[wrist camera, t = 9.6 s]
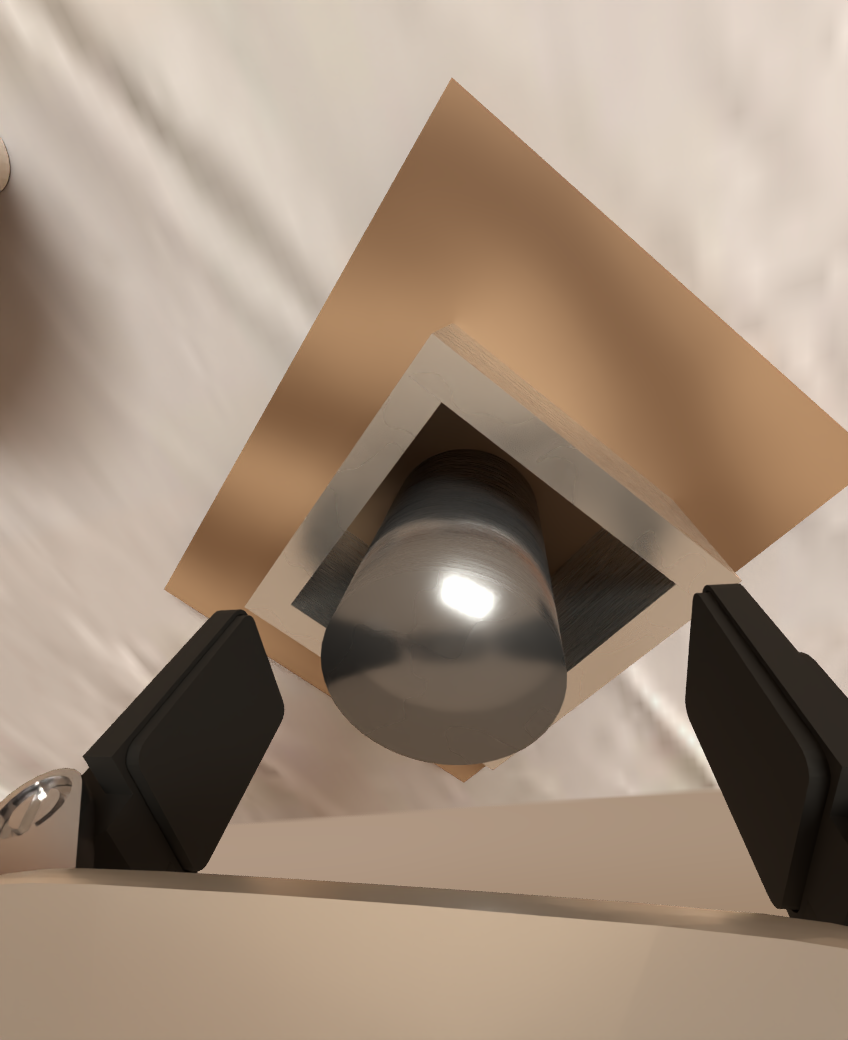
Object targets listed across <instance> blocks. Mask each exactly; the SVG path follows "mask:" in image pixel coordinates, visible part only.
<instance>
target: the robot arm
mask: <svg viewBox="0 0 848 1040" xmlns="http://www.w3.org/2000/svg"><path fill="white" fill-rule="evenodd" d="M685 703H686V710H687V714H688V717H689V720H690V722H691V725H692V727H693V729H694V731H695V733H696V736H697V738H698V740H699V742H700V745H701V747H702V749H703V751H704V754H705V756H706V758H707V760H708V762H709V765H710V767H711V769H712V771H713V774H714V776H715V778H716V780H717V783H718V785H719V787H720V789H721V791H722V794H723V796H724V798H725V800H726V802H727V805H728V807H729V809H730V812H731V814H732V816H733V818H734V820H735V823H736V825H737V827H738V829H739V832H740V834H741V836H742V838H743V840H744V843H745V845H746V847H747V849H748V852H749V854H750V856H751V858H752V860H753V863H754V865H755V867H756V870H757V872H758V874H759V876H760V878H761V881H762V883H763V885H764V887H765V889H766V892H767V894H768V896H769V898H770V900H771V902H772V903H773V905H774V906H775V907H776V908H777V909H786V910H787V912H788V914H789V916H790V917H783V916H775V915H768V914H759V913H747V912H737V911H726V910H715V909H703V908H692V907H681V906H670V905H658V904H647V903H635V902H621V901H608V900H607V901H606V900H594V899H580V898H566V897H552V896H538V895H524V894H510V893H496V892H482V891H467V890H452V889H438V888H423V887H407V886H392V885H378V884H362V883H346V882H330V881H316V880H301V879H300V880H299V879H284V878H268V877H251V876H250V877H249V876H233V875H217V874H199V873H197V872H198V871H200V870H202V869H203V868H204V867H205V866H206V865H207V863H208V862H209V860H210V858H211V856H212V854H213V852H214V850H215V848H216V846H217V844H218V843H219V841H220V839H221V837H222V835H223V833H224V831H225V829H226V827H227V825H228V823H229V821H230V819H231V818H232V816H233V814H234V812H235V810H236V808H237V806H238V804H239V802H240V800H241V798H242V796H243V794H244V793H245V791H246V789H247V787H248V785H249V783H250V781H251V779H252V777H253V775H254V773H255V771H256V770H257V768H258V766H259V764H260V762H261V760H262V758H263V756H264V754H265V752H266V750H267V748H268V746H269V745H270V743H271V741H272V739H273V737H274V735H275V733H276V731H277V729H278V727H279V725H280V723H281V722H282V719H283V716H284V703H283V700H282V697H281V694H280V691H279V689H278V686H277V683H276V680H275V677H274V674H273V672H272V669H271V666H270V663H269V660H268V657H267V654H266V652H265V649H264V646H263V643H262V640H261V637H260V635H259V632H258V629H257V626H256V623H255V621H254V619H253V617H252V616H250V615H248V614H247V613H246V612H245V611H244V610H241V609H237V610H220V611H216V612H215V613H214V614H213V615H212V616H211V617H210V618H209V619H208V620H207V621H206V622H205V624H204V625H203V626H202V627H201V628H200V629H199V630H198V631H197V632H196V633H195V634H194V636H193V637H192V638H191V639H190V640H189V641H188V642H187V643H186V644H185V645H184V646H183V648H182V649H181V650H180V651H179V652H178V653H177V654H176V655H175V656H174V657H173V659H172V660H171V661H170V662H169V663H168V664H167V665H166V666H165V667H164V668H163V669H162V671H161V672H160V673H159V674H158V675H157V676H156V677H155V678H154V679H153V680H152V681H151V683H150V684H149V685H148V686H147V687H146V688H145V689H144V690H143V691H142V692H141V693H140V695H139V696H138V697H137V698H136V699H135V700H134V701H133V702H132V703H131V704H130V705H129V707H128V708H127V709H126V710H125V711H124V712H123V713H122V714H121V715H120V716H119V717H118V719H117V720H116V721H115V722H114V723H113V724H112V725H111V726H110V727H109V728H108V729H107V731H106V732H105V733H104V734H103V735H102V736H101V737H100V738H99V739H98V740H97V741H96V743H95V744H94V745H93V746H92V747H91V748H90V749H89V750H88V751H87V752H86V753H85V755H84V756H83V757H84V759H85V761H86V762H87V764H88V766H89V768H88V769H87V771H86V772H85V773H84V774H83V775H81V774H80V773H79V772H78V771H77V770H75V769H70V768H62V769H57V770H52V771H50V772H47V773H44V774H42V775H39V776H37V777H35V778H34V779H32V780H30V781H28V782H26V783H25V784H23V785H22V786H20V787H19V788H17V789H16V790H15V791H13V792H12V793H10V794H9V795H8V796H7V797H6V798H5V799H4V800H3V801H2V802H0V1040H848V698H847V697H846V696H845V694H844V693H843V692H842V691H841V690H840V689H839V688H838V686H837V685H836V684H835V683H834V682H833V681H832V679H831V678H830V677H829V676H828V675H827V674H826V673H825V671H824V670H823V669H822V668H821V667H820V666H819V665H818V663H817V662H816V661H815V660H814V659H813V658H811V657H810V656H809V655H808V654H805V653H802V652H798V651H797V650H796V648H795V647H794V646H793V645H792V644H791V643H790V641H789V640H788V639H787V638H786V637H785V635H784V634H783V633H782V632H781V631H780V629H779V628H778V627H777V626H776V625H775V624H774V622H773V621H772V620H771V619H770V618H769V616H768V615H767V614H766V613H765V612H764V611H763V609H762V608H761V607H760V606H759V605H758V603H757V602H756V601H755V600H754V599H753V598H752V596H751V595H750V594H749V593H748V592H747V590H746V589H745V588H744V587H743V586H742V585H741V584H738V583H735V584H716V585H706V586H704V588H703V591H702V593H695V594H694V596H693V600H692V614H691V627H690V641H689V655H688V668H687V682H686V696H685Z"/></svg>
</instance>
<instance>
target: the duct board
mask: <svg viewBox="0 0 848 1040" xmlns="http://www.w3.org/2000/svg"><path fill="white" fill-rule="evenodd" d="M455 449H475V450H481V451H485V452H488V453H491V454H494V455H497V456H499V457H501V458H503V459H505V460H506V461H507V462H509V463H510V464H512V465H513V466H514V467H515V468H517V469H518V470H519V471H520V472H521V473H522V475H523V476H524V477H525V478H526V480H527V481H528V483H529V484H530V486H531V488H532V490H533V492H534V495H535V498H536V501H537V506H538V511H539V517H540V523H541V528H542V534H543V539H544V545H545V551H546V556H547V562H548V567H549V573H550V579H551V584H552V590H553V595H554V601H555V607H556V612H557V618H558V623H559V629H560V634H561V640H562V646H563V651H564V657H565V663H566V670H567V689H566V693H565V698H564V702H563V704H562V707H561V709H560V712H559V714H558V715H557V717H556V718H555V720H554V722H553V723H552V724H551V726H552V725H553V724H554V723H556V722H557V721H558V720H559V719H561V718H562V717H563V716H565V715H566V714H567V713H569V712H570V711H571V710H573V709H574V708H575V707H577V706H578V705H579V704H580V703H582V702H583V701H584V700H586V699H587V698H588V697H590V696H591V695H592V694H594V693H595V692H596V691H598V690H599V689H600V688H602V687H603V686H604V685H605V684H607V683H608V682H609V681H611V680H612V679H613V678H615V677H616V676H617V675H619V674H620V673H621V672H623V671H624V670H625V669H626V668H628V667H629V666H630V665H632V664H633V663H634V662H636V661H637V660H638V659H640V658H641V657H642V656H644V655H645V654H646V653H647V652H649V651H650V650H651V649H653V648H654V647H655V646H657V645H658V644H659V643H661V642H662V641H663V640H665V639H666V638H667V637H669V636H670V635H671V634H672V633H674V632H675V631H676V630H678V629H679V628H680V627H682V626H683V625H684V624H686V623H687V622H688V621H690V620H691V614H692V600H693V596H694V594H695V593H702V591H703V588H704V586H706V585H716V584H735V583H739V582H741V581H742V580H741V579H740V578H739V577H738V575H737V574H736V573H735V572H736V571H738V570H739V569H740V568H742V567H743V566H744V565H745V564H747V563H748V562H749V561H751V560H752V559H753V558H754V557H756V556H757V555H758V554H760V553H761V552H762V551H764V550H765V549H766V548H767V547H769V546H770V545H771V544H773V543H774V542H775V541H776V540H778V539H779V538H780V537H782V536H783V535H784V534H785V533H787V532H788V531H789V530H791V529H792V528H793V527H795V526H796V525H797V524H798V523H800V522H801V521H802V520H804V519H805V518H806V517H807V516H809V515H810V514H811V513H813V512H814V511H815V510H816V509H818V508H819V507H820V506H822V505H823V504H824V503H826V502H827V501H828V500H829V499H831V498H832V497H833V496H835V495H836V494H837V493H838V492H840V491H841V490H842V489H844V488H845V487H846V486H847V485H848V432H847V431H846V430H845V429H844V428H842V427H841V426H840V425H839V424H838V423H837V422H836V421H835V420H834V419H832V418H831V417H830V416H829V415H828V414H827V413H826V412H825V411H824V410H822V409H821V408H820V407H819V406H818V405H817V404H816V403H815V402H813V401H812V400H811V399H810V398H809V397H808V396H807V395H806V394H805V393H803V392H802V391H801V390H800V389H799V388H798V387H797V386H796V385H795V384H793V383H792V382H791V381H790V380H789V379H788V378H787V377H786V376H784V375H783V374H782V373H781V372H780V371H779V370H778V369H777V368H776V367H774V366H773V365H772V364H771V363H770V362H769V361H768V360H767V359H765V358H764V357H763V356H762V355H761V354H760V353H759V352H758V351H757V350H755V349H754V348H753V347H752V346H751V345H750V344H749V343H748V342H747V341H745V340H744V339H743V338H742V337H741V336H740V335H739V334H738V333H736V332H735V331H734V330H733V329H732V328H731V327H730V326H729V325H728V324H726V323H725V322H724V321H723V320H722V319H721V318H720V317H719V316H717V315H716V314H715V313H714V312H713V311H712V310H711V309H710V308H709V307H707V306H706V305H705V304H704V303H703V302H702V301H701V300H700V299H699V298H697V297H696V296H695V295H694V294H693V293H692V292H691V291H690V290H688V289H687V288H686V287H685V286H684V285H683V284H682V283H681V282H680V281H678V280H677V279H676V278H675V277H674V276H673V275H672V274H671V273H670V272H668V271H667V270H666V269H665V268H664V267H663V266H662V265H661V264H659V263H658V262H657V261H656V260H655V259H654V258H653V257H652V256H651V255H649V254H648V253H647V252H646V251H645V250H644V249H643V248H642V247H640V246H639V245H638V244H637V243H636V242H635V241H634V240H633V239H632V238H630V237H629V236H628V235H627V234H626V233H625V232H624V231H623V230H622V229H620V228H619V227H618V226H617V225H616V224H615V223H614V222H613V221H611V220H610V219H609V218H608V217H607V216H606V215H605V214H604V213H603V212H601V211H600V210H599V209H598V208H597V207H596V206H595V205H594V204H592V203H591V202H590V201H589V200H588V199H587V198H586V197H585V196H584V195H582V194H581V193H580V192H579V191H578V190H577V189H576V188H575V187H574V186H572V185H571V184H570V183H569V182H568V181H567V180H566V179H565V178H563V177H562V176H561V175H560V174H559V173H558V172H557V171H556V170H555V169H553V168H552V167H551V166H550V165H549V164H548V163H547V162H546V161H544V160H543V159H542V158H541V157H540V156H539V155H538V154H537V153H536V152H534V151H533V150H532V149H531V148H530V147H529V146H528V145H527V144H526V143H524V142H523V141H522V140H521V139H520V138H519V137H518V136H517V135H515V134H514V133H513V132H512V131H511V130H510V129H509V128H508V127H507V126H505V125H504V124H503V123H502V122H501V121H500V120H499V119H498V118H497V117H495V116H494V115H493V114H492V113H491V112H490V111H489V110H488V109H486V108H485V107H484V106H483V105H482V104H481V103H480V102H479V101H478V100H476V99H475V98H474V97H473V96H472V95H471V94H470V93H469V92H467V91H466V90H465V89H464V88H463V87H462V86H461V85H460V84H459V83H457V82H456V81H455V80H454V79H453V78H451V80H450V82H449V84H448V85H447V87H446V89H445V91H444V92H443V94H442V96H441V98H440V100H439V101H438V103H437V105H436V107H435V108H434V110H433V112H432V114H431V116H430V117H429V119H428V121H427V123H426V124H425V126H424V128H423V130H422V132H421V133H420V135H419V137H418V139H417V140H416V142H415V144H414V146H413V148H412V149H411V151H410V153H409V155H408V157H407V158H406V160H405V162H404V164H403V165H402V167H401V169H400V171H399V173H398V174H397V176H396V178H395V180H394V181H393V183H392V185H391V187H390V189H389V190H388V192H387V194H386V196H385V197H384V199H383V201H382V203H381V205H380V206H379V208H378V210H377V212H376V213H375V215H374V217H373V219H372V221H371V222H370V224H369V226H368V228H367V229H366V231H365V233H364V235H363V237H362V238H361V240H360V242H359V244H358V245H357V247H356V249H355V251H354V253H353V254H352V256H351V258H350V260H349V261H348V263H347V265H346V267H345V269H344V270H343V272H342V274H341V276H340V277H339V279H338V281H337V283H336V285H335V286H334V288H333V290H332V292H331V294H330V295H329V297H328V299H327V301H326V302H325V304H324V306H323V308H322V310H321V311H320V313H319V315H318V317H317V318H316V320H315V322H314V324H313V326H312V327H311V329H310V331H309V333H308V334H307V336H306V338H305V340H304V342H303V343H302V345H301V347H300V349H299V350H298V352H297V354H296V356H295V358H294V359H293V361H292V363H291V365H290V366H289V368H288V370H287V372H286V374H285V375H284V377H283V379H282V381H281V382H280V384H279V386H278V388H277V390H276V391H275V393H274V395H273V397H272V398H271V400H270V402H269V404H268V406H267V407H266V409H265V411H264V413H263V414H262V416H261V418H260V420H259V422H258V423H257V425H256V427H255V429H254V431H253V432H252V434H251V436H250V438H249V439H248V441H247V443H246V445H245V447H244V448H243V450H242V452H241V454H240V455H239V457H238V459H237V461H236V463H235V464H234V466H233V468H232V470H231V471H230V473H229V475H228V477H227V479H226V480H225V482H224V484H223V486H222V487H221V489H220V491H219V493H218V495H217V496H216V498H215V500H214V502H213V503H212V505H211V507H210V509H209V511H208V512H207V514H206V516H205V518H204V519H203V521H202V523H201V525H200V527H199V528H198V530H197V532H196V534H195V535H194V537H193V539H192V541H191V543H190V544H189V546H188V548H187V550H186V551H185V553H184V555H183V557H182V559H181V560H180V562H179V564H178V566H177V568H176V569H175V571H174V573H173V575H172V576H171V578H170V580H169V582H168V584H167V585H166V587H165V589H164V590H166V591H167V592H169V593H170V594H172V595H174V596H175V597H177V598H178V599H180V600H181V601H183V602H184V603H186V604H188V605H189V606H191V607H192V608H194V609H195V610H197V611H198V612H200V613H202V614H203V615H205V616H206V617H208V618H210V617H211V616H212V615H213V614H214V613H215V612H216V611H220V610H237V609H241V610H244V611H245V612H246V613H247V614H248V615H250V616H252V617H253V619H254V621H255V623H256V626H257V629H258V632H259V635H260V637H261V640H262V643H263V646H264V649H265V652H266V654H267V656H268V657H270V658H271V659H273V660H274V661H276V662H278V663H279V664H281V665H282V666H284V667H285V668H287V669H288V670H290V671H292V672H293V673H295V674H296V675H298V676H299V677H301V678H302V679H304V680H305V681H307V682H309V683H310V684H312V685H313V686H315V687H316V688H318V689H319V690H321V691H323V692H324V693H326V694H327V695H329V696H330V697H331V695H330V693H329V692H328V689H327V686H326V684H325V681H324V677H323V673H322V668H321V646H322V641H323V637H324V633H325V630H326V628H327V626H328V624H329V622H330V620H331V618H332V616H333V614H334V612H335V610H336V608H337V606H338V605H339V603H340V601H341V599H342V597H343V595H344V593H345V591H346V590H347V588H348V586H349V584H350V582H351V580H352V578H353V576H354V575H355V573H356V571H357V569H358V567H359V565H360V563H361V562H362V560H363V558H364V556H365V554H366V552H367V550H368V548H369V547H370V545H371V543H372V541H373V539H374V537H375V535H376V533H377V532H378V530H379V528H380V526H381V524H382V522H383V520H384V518H385V517H386V515H387V513H388V511H389V509H390V507H391V505H392V503H393V502H394V500H395V498H396V496H397V494H398V492H399V490H400V489H401V487H402V485H403V483H404V481H405V480H406V478H407V477H408V475H409V474H410V473H411V472H412V471H413V470H414V469H415V468H416V467H417V466H418V465H419V464H421V463H422V462H423V461H425V460H427V459H428V458H430V457H432V456H434V455H436V454H439V453H442V452H445V451H450V450H455ZM514 754H515V753H514ZM512 755H513V754H512ZM512 755H510V756H507V757H504V758H501V759H498V760H494V761H490V762H486V763H480V764H472V765H443V764H436V765H437V766H439V767H440V768H442V769H444V770H445V771H447V772H448V773H450V774H451V775H453V776H454V777H456V778H458V779H459V780H461V781H462V782H465V781H467V780H468V779H469V778H470V777H472V776H473V775H474V774H476V773H477V772H478V771H479V770H481V769H482V768H483V767H485V766H487V767H489V768H490V769H492V770H494V769H495V768H496V767H498V766H499V765H500V764H502V763H503V762H504V761H506V760H507V759H508V758H510V757H511V756H512ZM434 764H435V763H434Z"/></svg>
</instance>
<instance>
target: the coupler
mask: <svg viewBox="0 0 848 1040" xmlns="http://www.w3.org/2000/svg"><path fill="white" fill-rule="evenodd" d="M321 668H322V673H323V677H324V681H325V684H326V686H327V689H328V692H329V693H330V695H331V697H332V699H333V701H334V703H335V704H336V706H337V707H338V708H339V710H340V711H341V712H342V714H343V715H344V716H345V717H346V718H347V719H348V720H349V721H350V723H351V724H352V725H354V726H355V727H356V728H357V729H358V730H359V731H360V732H362V733H363V734H364V735H366V736H367V737H369V738H370V739H371V740H373V741H374V742H376V743H378V744H380V745H381V746H383V747H385V748H387V749H389V750H391V751H393V752H396V753H398V754H401V755H403V756H406V757H409V758H412V759H416V760H420V761H424V762H429V763H435V764H443V765H472V764H480V763H486V762H490V761H494V760H498V759H501V758H504V757H507V756H510V755H512V754H514V753H516V752H518V751H520V750H522V749H524V748H526V747H527V746H529V745H530V744H532V743H533V742H535V741H536V740H537V739H538V738H539V737H540V736H541V735H543V734H544V733H545V732H546V730H547V729H548V728H549V727H550V726H551V724H552V723H553V722H554V720H555V718H556V717H557V715H558V714H559V712H560V709H561V707H562V704H563V702H564V698H565V693H566V689H567V670H566V663H565V657H564V651H563V646H562V640H561V634H560V629H559V623H558V618H557V612H556V607H555V601H554V595H553V590H552V584H551V579H550V573H549V567H548V562H547V556H546V551H545V545H544V539H543V534H542V528H541V523H540V517H539V511H538V506H537V501H536V498H535V495H534V492H533V490H532V488H531V486H530V484H529V483H528V481H527V480H526V478H525V477H524V476H523V475H522V473H521V472H520V471H519V470H518V469H517V468H515V467H514V466H513V465H512V464H510V463H509V462H507V461H506V460H505V459H503V458H501V457H499V456H497V455H494V454H491V453H488V452H485V451H481V450H475V449H455V450H450V451H445V452H442V453H439V454H436V455H434V456H432V457H430V458H428V459H427V460H425V461H423V462H422V463H421V464H419V465H418V466H417V467H416V468H415V469H414V470H413V471H412V472H411V473H410V474H409V475H408V477H407V478H406V480H405V481H404V483H403V485H402V487H401V489H400V490H399V492H398V494H397V496H396V498H395V500H394V502H393V503H392V505H391V507H390V509H389V511H388V513H387V515H386V517H385V518H384V520H383V522H382V524H381V526H380V528H379V530H378V532H377V533H376V535H375V537H374V539H373V541H372V543H371V545H370V547H369V548H368V550H367V552H366V554H365V556H364V558H363V560H362V562H361V563H360V565H359V567H358V569H357V571H356V573H355V575H354V576H353V578H352V580H351V582H350V584H349V586H348V588H347V590H346V591H345V593H344V595H343V597H342V599H341V601H340V603H339V605H338V606H337V608H336V610H335V612H334V614H333V616H332V618H331V620H330V622H329V624H328V626H327V628H326V630H325V633H324V637H323V641H322V646H321Z"/></svg>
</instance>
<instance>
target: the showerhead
mask: <svg viewBox="0 0 848 1040" xmlns="http://www.w3.org/2000/svg"><path fill="white" fill-rule="evenodd" d="M9 173H10V164H9V157H8V153H7V151H6V148H5V145H4V143H3V141H2V139H1V138H0V191H1V190H2V189H3V188H4V187H5V186H6V184H7V182H8V178H9Z"/></svg>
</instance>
